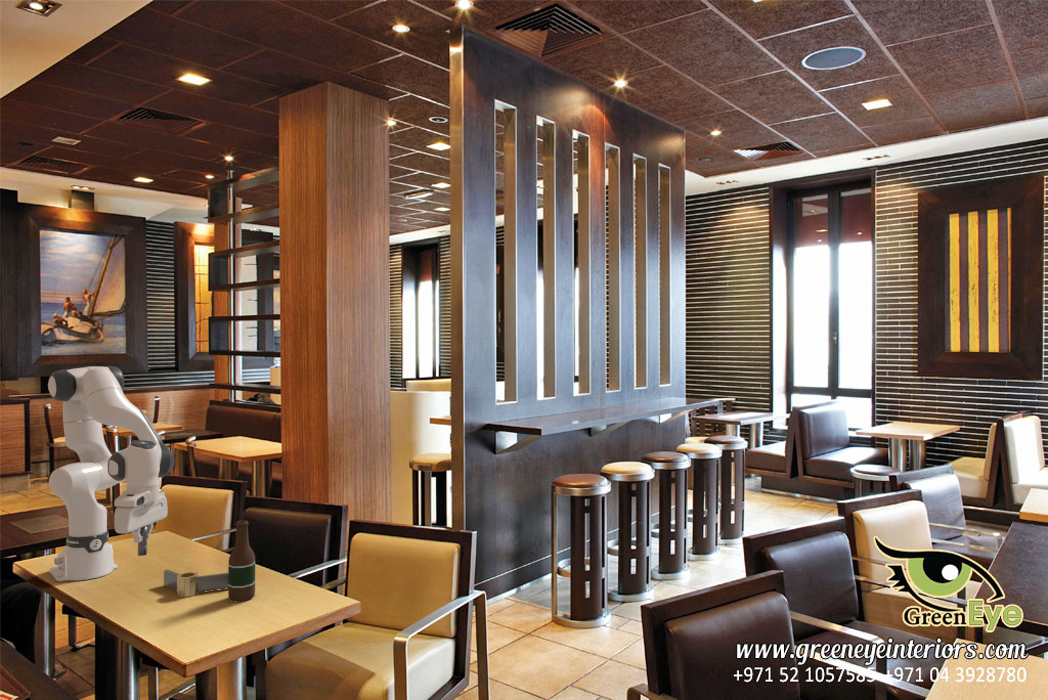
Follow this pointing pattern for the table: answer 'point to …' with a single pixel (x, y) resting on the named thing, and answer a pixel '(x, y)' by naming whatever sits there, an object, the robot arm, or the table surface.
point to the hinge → (194, 582)
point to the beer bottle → (241, 566)
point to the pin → (143, 542)
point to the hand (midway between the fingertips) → (142, 540)
